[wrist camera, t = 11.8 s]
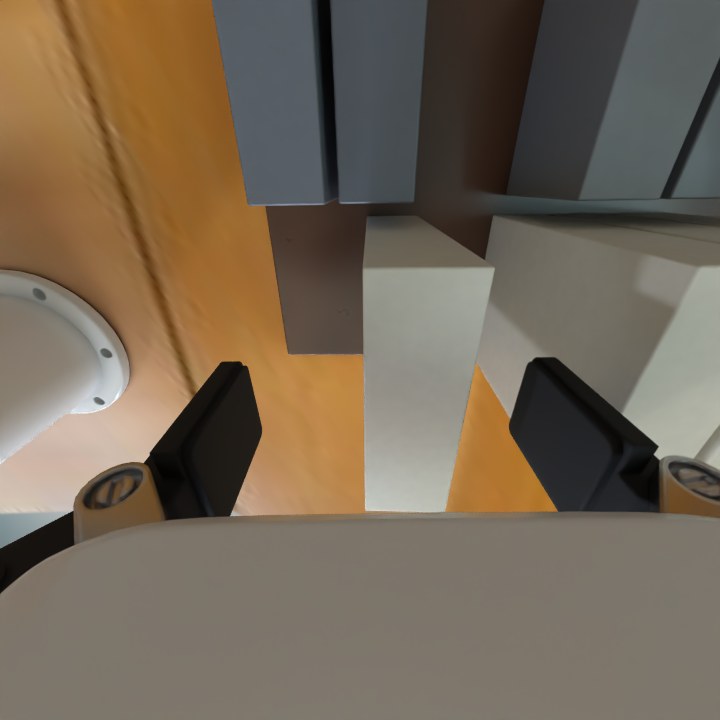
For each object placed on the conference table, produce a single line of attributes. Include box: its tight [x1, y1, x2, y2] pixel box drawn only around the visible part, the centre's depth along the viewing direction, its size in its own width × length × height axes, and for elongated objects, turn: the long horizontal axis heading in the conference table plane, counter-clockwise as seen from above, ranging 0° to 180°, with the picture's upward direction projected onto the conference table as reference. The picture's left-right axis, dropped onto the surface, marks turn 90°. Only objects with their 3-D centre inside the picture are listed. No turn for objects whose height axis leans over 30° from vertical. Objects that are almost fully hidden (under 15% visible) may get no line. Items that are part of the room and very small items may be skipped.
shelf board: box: [266, 0, 720, 355], centre depth 18 cm, size 28×20×2 cm
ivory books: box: [476, 212, 720, 470], centre depth 14 cm, size 10×9×13 cm
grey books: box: [212, 0, 720, 206], centre depth 12 cm, size 22×9×7 cm, turn 91°
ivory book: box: [363, 216, 495, 512], centre depth 15 cm, size 3×9×13 cm, turn 1°
